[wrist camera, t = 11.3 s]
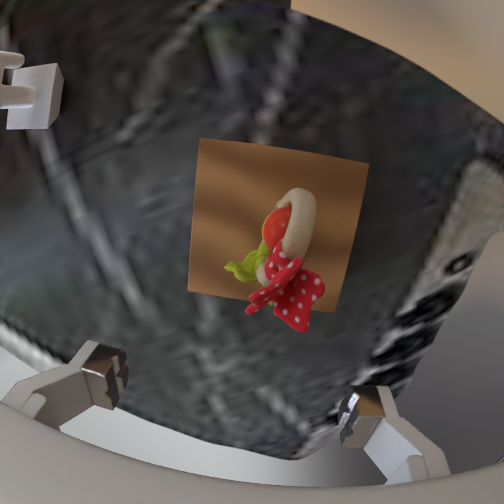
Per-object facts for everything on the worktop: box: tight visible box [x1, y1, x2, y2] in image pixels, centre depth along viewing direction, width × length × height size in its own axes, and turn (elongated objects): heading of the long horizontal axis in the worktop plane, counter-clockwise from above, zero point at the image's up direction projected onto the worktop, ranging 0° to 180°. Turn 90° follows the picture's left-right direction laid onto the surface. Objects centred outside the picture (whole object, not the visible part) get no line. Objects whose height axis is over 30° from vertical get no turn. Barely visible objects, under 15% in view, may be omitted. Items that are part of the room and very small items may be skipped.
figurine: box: [0, 51, 64, 129], centre depth 22 cm, size 7×9×15 cm
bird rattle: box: [224, 188, 325, 333], centre depth 22 cm, size 6×11×9 cm
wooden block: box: [188, 138, 369, 313], centre depth 29 cm, size 14×14×6 cm
